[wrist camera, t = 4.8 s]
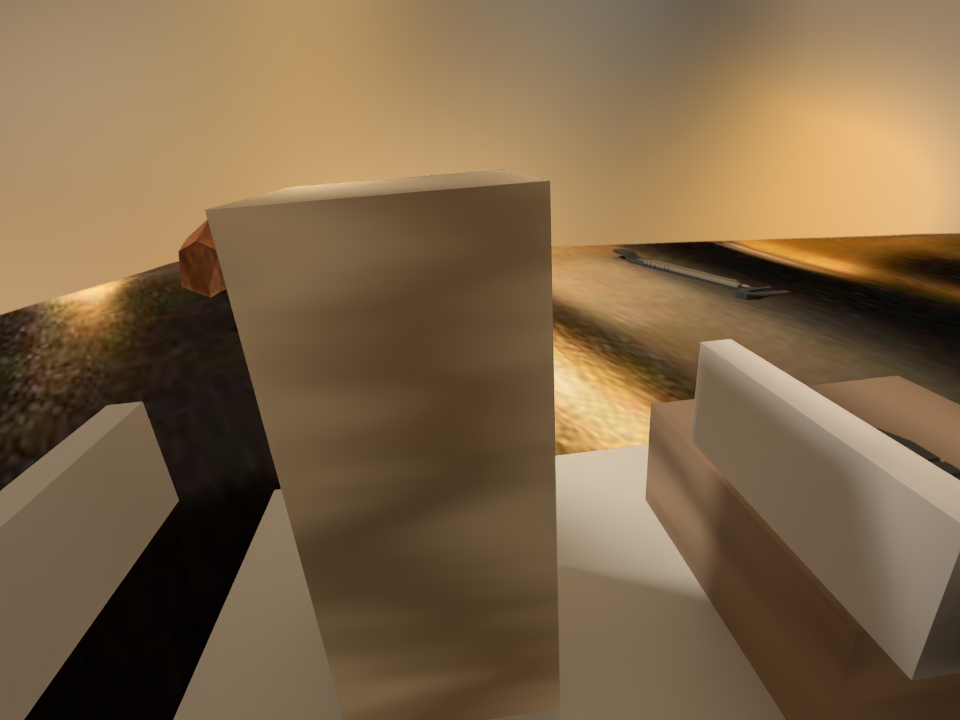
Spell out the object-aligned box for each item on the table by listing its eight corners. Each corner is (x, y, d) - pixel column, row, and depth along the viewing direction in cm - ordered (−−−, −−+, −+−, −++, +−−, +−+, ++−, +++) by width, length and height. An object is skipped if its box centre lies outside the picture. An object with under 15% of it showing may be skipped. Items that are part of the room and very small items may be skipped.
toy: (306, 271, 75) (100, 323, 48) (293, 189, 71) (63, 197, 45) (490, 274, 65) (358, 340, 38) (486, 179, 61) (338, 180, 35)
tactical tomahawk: (809, 300, 43) (812, 287, 43) (748, 307, 41) (750, 293, 41) (653, 255, 61) (654, 246, 61) (605, 258, 59) (606, 249, 59)
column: (349, 741, 12) (204, 209, 7) (370, 576, 16) (289, 187, 12) (560, 708, 12) (550, 180, 8) (522, 556, 17) (502, 169, 12)
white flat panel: (-50, 1261, 7) (-63, 1255, 7) (276, 496, 21) (274, 489, 21) (1626, 906, 8) (1644, 895, 8) (859, 425, 23) (861, 418, 23)
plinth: (817, 767, 11) (857, 632, 9) (645, 499, 19) (651, 404, 17) (1201, 703, 11) (1299, 566, 10) (872, 469, 20) (897, 375, 18)
